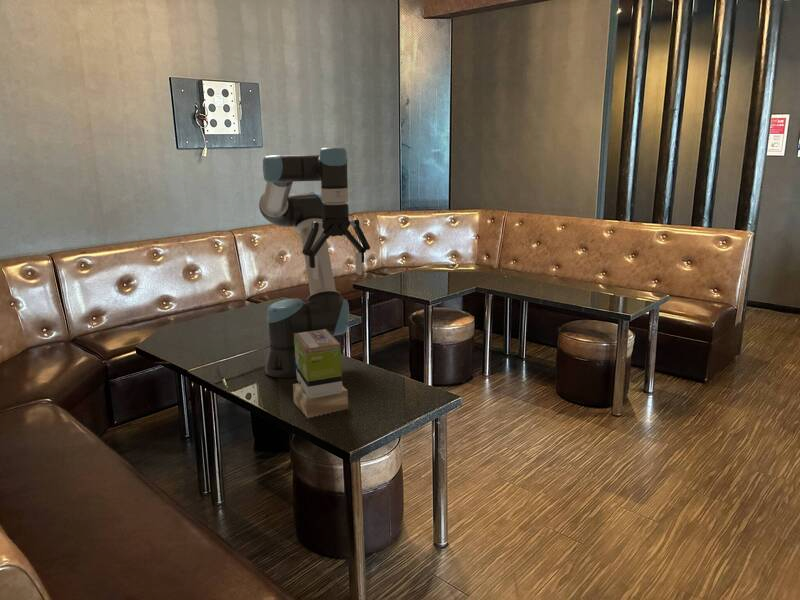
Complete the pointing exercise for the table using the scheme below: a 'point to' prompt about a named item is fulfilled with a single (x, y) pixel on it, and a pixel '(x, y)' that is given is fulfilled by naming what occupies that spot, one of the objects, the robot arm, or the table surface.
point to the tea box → (318, 363)
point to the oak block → (319, 402)
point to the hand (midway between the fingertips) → (337, 276)
